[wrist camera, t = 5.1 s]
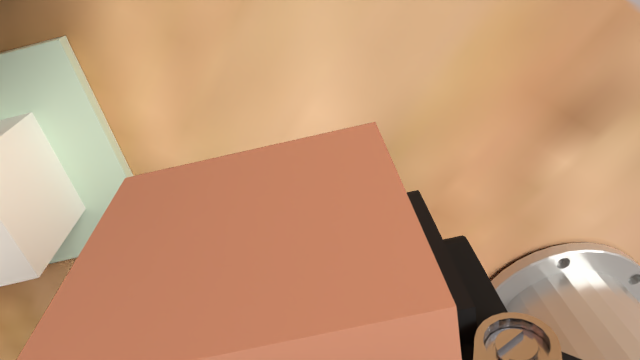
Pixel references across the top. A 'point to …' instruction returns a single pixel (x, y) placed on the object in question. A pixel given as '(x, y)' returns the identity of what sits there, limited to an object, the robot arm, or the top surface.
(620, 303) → the robot arm
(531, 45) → the top surface
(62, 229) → the ivory brick
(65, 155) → the plate
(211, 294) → the rust brick
